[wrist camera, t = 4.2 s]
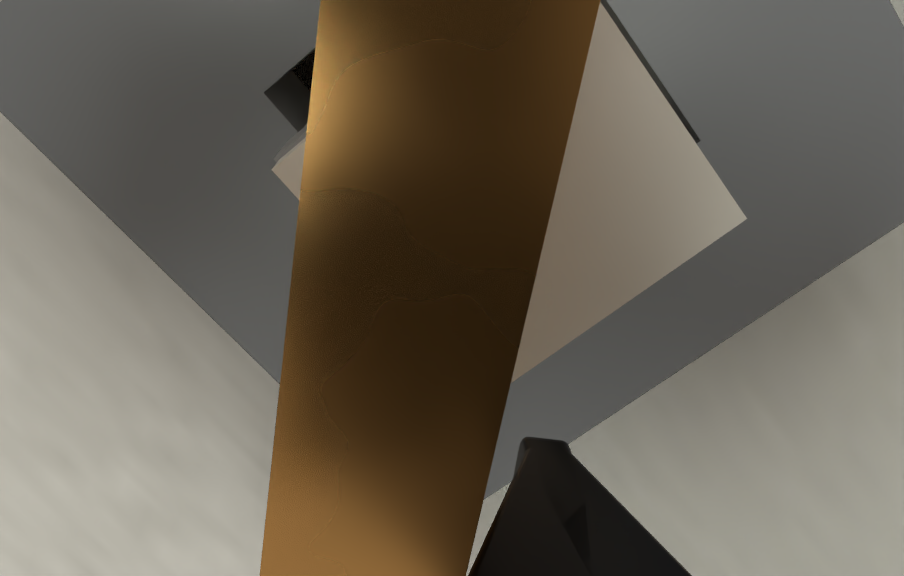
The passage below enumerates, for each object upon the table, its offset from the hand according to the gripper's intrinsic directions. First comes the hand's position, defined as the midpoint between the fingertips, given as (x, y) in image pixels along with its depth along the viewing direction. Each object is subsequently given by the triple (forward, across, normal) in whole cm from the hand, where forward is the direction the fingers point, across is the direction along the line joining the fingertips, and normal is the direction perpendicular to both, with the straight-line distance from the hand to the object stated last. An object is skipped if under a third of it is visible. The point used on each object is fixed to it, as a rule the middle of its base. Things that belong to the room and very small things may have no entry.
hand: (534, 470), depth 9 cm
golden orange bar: (0, +2, +1) cm, 2 cm away
